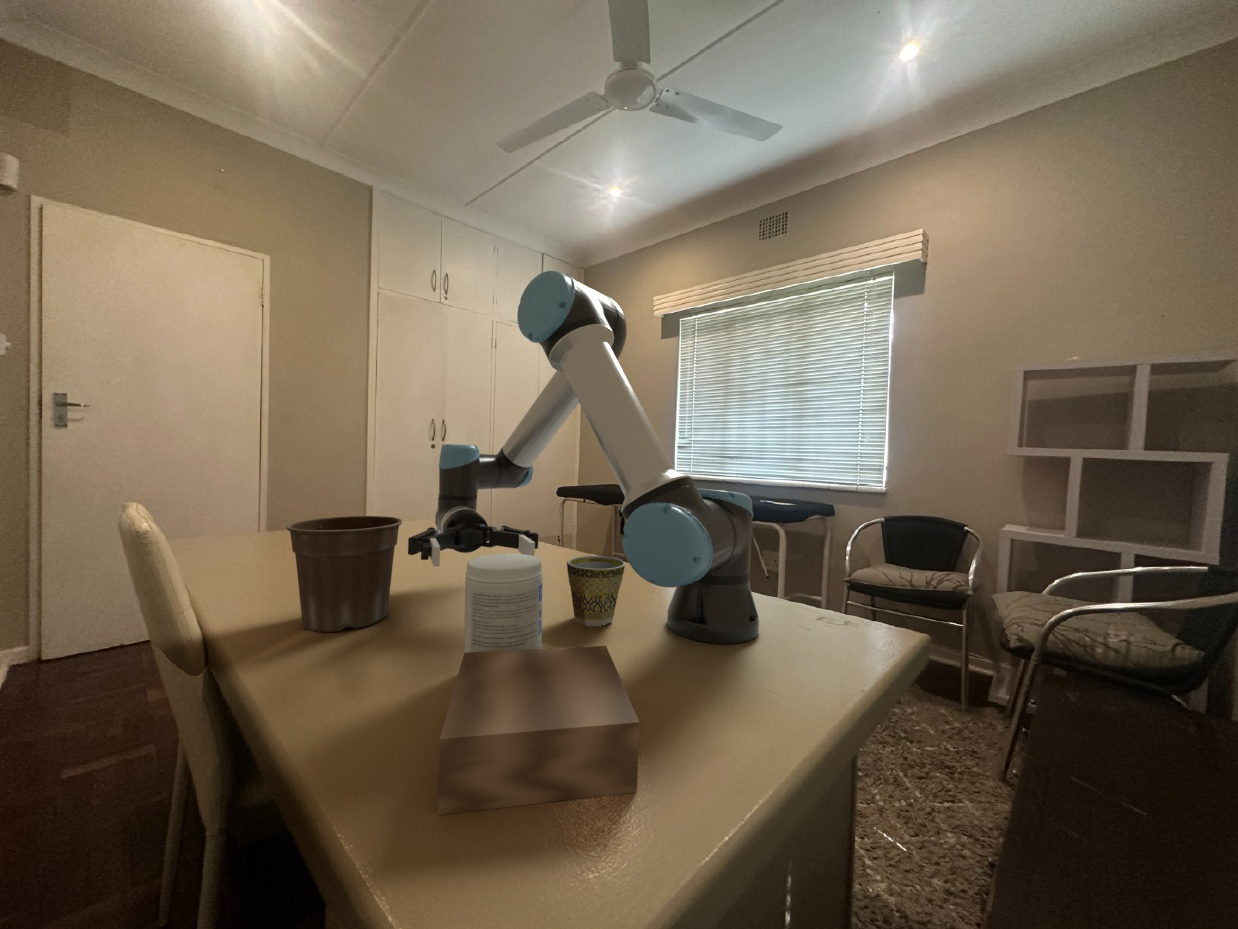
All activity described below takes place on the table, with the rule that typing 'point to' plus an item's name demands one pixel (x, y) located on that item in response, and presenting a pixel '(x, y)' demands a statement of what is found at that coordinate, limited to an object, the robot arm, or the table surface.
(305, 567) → the plant pot
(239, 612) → the table surface
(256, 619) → the table surface
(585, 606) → the ceramic cup
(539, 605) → the supplement tub
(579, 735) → the block
